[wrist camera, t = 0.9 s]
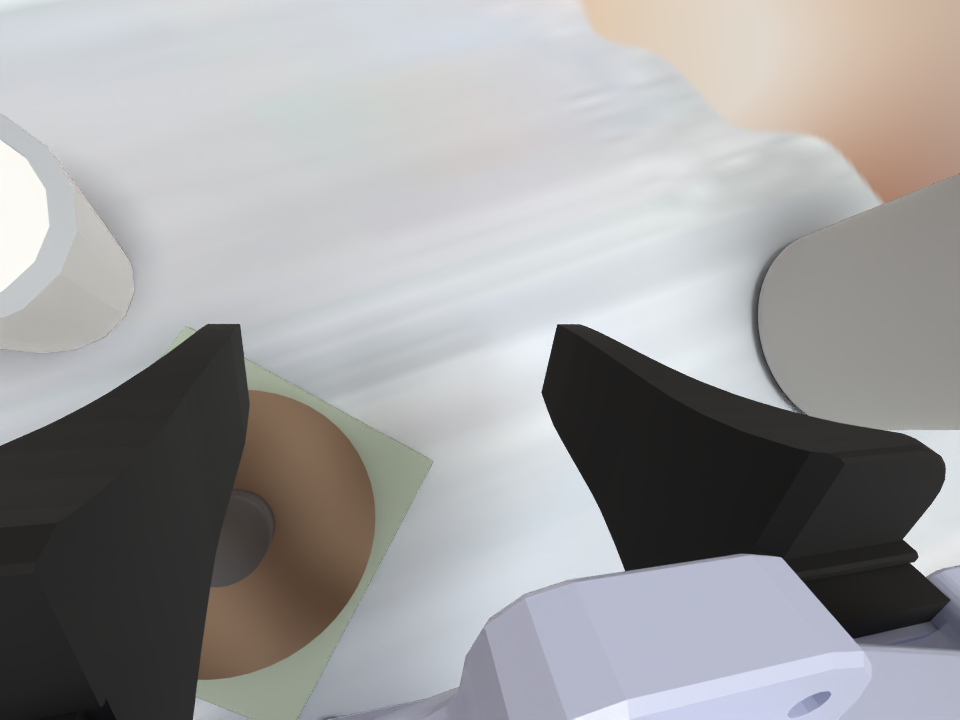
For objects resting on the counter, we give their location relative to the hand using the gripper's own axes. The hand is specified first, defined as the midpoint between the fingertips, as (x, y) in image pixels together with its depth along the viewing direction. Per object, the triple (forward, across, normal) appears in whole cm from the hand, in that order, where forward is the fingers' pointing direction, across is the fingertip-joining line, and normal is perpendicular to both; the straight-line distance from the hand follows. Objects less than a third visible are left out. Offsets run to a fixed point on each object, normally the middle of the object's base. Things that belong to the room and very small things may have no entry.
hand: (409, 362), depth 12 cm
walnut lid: (+6, +6, +11) cm, 14 cm away
